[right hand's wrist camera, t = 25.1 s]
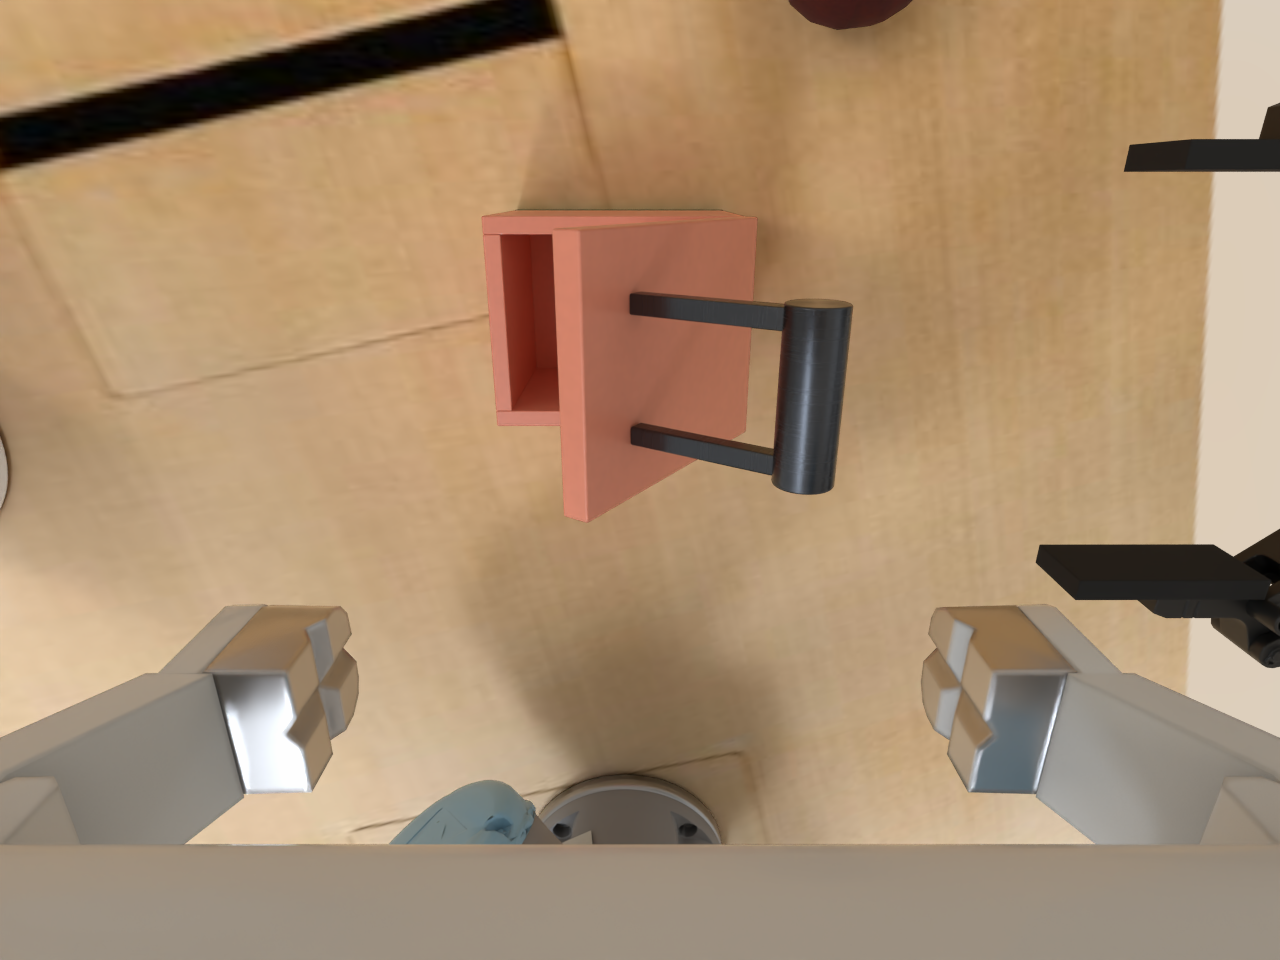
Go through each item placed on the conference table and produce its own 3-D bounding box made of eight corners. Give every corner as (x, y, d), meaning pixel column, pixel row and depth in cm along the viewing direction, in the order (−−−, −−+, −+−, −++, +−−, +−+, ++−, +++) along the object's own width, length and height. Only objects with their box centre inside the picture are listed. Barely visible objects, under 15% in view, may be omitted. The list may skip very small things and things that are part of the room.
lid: (563, 516, 25) (790, 584, 21) (550, 228, 22) (820, 238, 18) (725, 428, 35) (905, 462, 31) (735, 216, 31) (940, 220, 27)
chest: (526, 377, 44) (497, 426, 35) (516, 209, 41) (481, 215, 32) (715, 377, 44) (734, 426, 35) (721, 209, 41) (745, 216, 32)
